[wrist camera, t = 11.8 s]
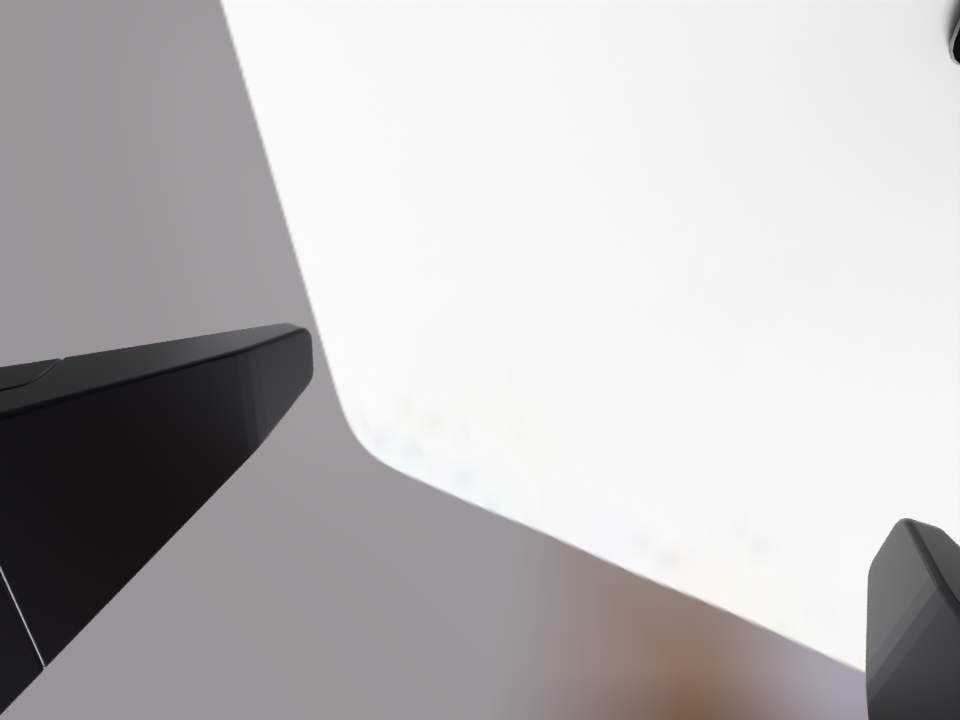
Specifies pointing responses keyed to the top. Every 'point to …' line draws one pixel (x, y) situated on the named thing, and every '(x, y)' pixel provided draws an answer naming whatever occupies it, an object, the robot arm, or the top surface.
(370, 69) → the top surface
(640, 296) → the top surface
